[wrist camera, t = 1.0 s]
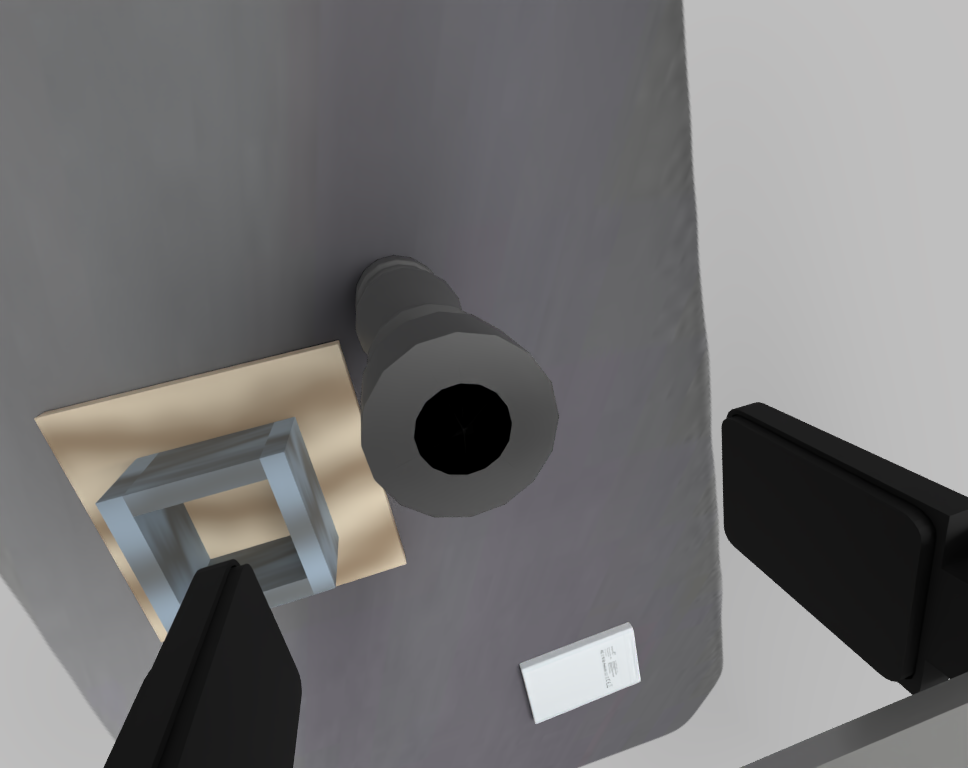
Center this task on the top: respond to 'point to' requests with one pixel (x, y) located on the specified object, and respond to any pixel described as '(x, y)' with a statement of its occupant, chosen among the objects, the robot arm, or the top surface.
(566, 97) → the top surface
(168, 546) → the socket board
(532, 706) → the external hard drive
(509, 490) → the candle holder
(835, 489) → the robot arm
